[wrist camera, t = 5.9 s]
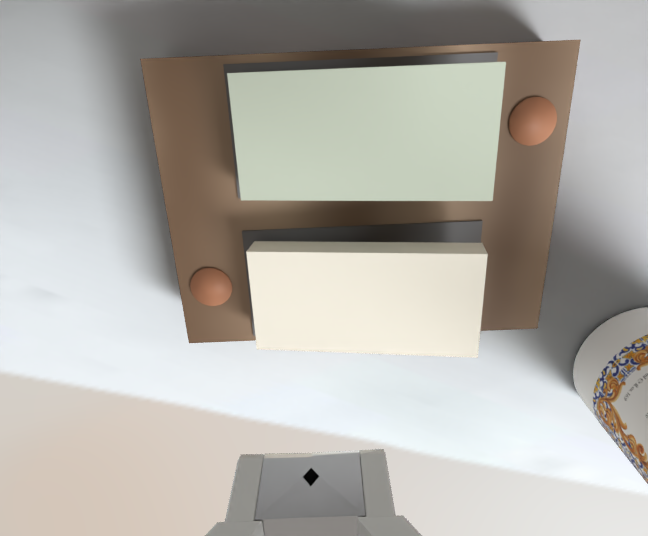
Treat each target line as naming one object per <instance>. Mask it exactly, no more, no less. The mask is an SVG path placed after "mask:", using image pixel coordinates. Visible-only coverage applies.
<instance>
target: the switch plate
mask: <svg viewBox="0 0 648 536" xmlns="http://www.w3.org/2000/svg"><path fill="white" fill-rule="evenodd" d="M579 46H580V40H563V41H540V42H517V43H494V44H471V45H448V46H425V47H402V48H379V49H356V50H333V51H310V52H287V53H264V54H241V55H218V56H195V57H171V58H148V59H140V60H141V66H142V72H143V77H144V83H145V89H146V95H147V101H148V107H149V112H150V118H151V124H152V130H153V136H154V142H155V147H156V153H157V159H158V165H159V171H160V177H161V182H162V188H163V194H164V200H165V206H166V212H167V217H168V223H169V229H170V235H171V241H172V247H173V252H174V258H175V264H176V270H177V276H178V282H179V287H180V293H181V299H182V305H183V311H184V317H185V322H186V328H187V334H188V340H189V343H203V342H227V341H251V340H256V336H255V327H254V318H253V309H252V299H251V290H250V281H249V272H248V263H247V254H246V251H247V250H248V249H249V248H250V246H251V245H252V244H253V242H254V241H296V242H441V243H483V245H484V247H485V250H486V252H487V254H488V257H487V267H486V277H485V287H484V298H483V308H482V318H481V329H480V331H487V330H511V329H534V328H538V321H539V314H540V308H541V301H542V294H543V288H544V281H545V274H546V267H547V261H548V254H549V247H550V241H551V234H552V227H553V221H554V214H555V207H556V200H557V194H558V187H559V180H560V174H561V167H562V160H563V154H564V147H565V140H566V133H567V127H568V120H569V113H570V107H571V100H572V93H573V87H574V80H575V73H576V66H577V60H578V53H579ZM481 62H506V68H505V79H504V89H503V99H502V109H501V120H500V130H499V140H498V151H497V161H496V171H495V182H494V192H493V201H278V200H241V196H240V187H239V178H238V169H237V160H236V150H235V141H234V132H233V123H232V114H231V104H230V95H229V86H228V77H227V73H240V72H264V71H288V70H312V69H336V68H360V67H384V66H408V65H432V64H457V63H481Z"/></svg>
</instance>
